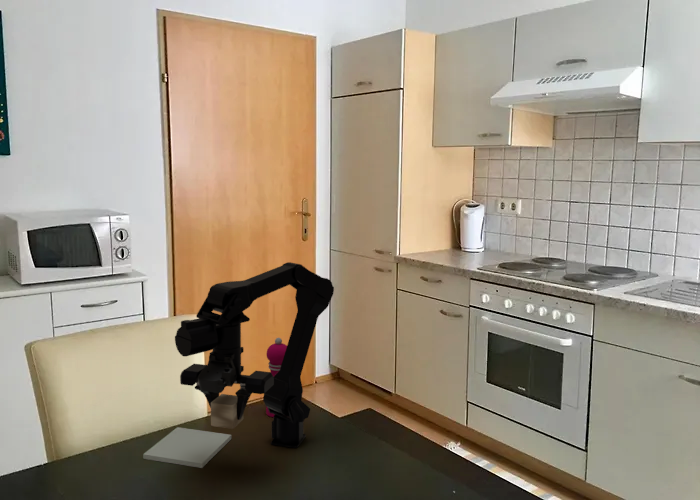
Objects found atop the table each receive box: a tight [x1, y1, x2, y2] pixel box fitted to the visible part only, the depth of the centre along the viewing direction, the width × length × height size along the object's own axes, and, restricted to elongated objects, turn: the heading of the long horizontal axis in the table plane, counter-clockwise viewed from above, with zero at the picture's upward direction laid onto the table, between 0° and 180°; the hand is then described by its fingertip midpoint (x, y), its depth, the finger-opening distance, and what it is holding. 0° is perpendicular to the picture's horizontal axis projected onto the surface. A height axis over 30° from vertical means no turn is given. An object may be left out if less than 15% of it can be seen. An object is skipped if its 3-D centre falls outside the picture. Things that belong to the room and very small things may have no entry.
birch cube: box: [210, 393, 245, 430], centre depth 125 cm, size 5×5×5 cm
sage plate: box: [142, 426, 232, 469], centre depth 134 cm, size 14×14×1 cm
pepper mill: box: [265, 337, 288, 418], centre depth 153 cm, size 7×7×20 cm
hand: (227, 417), depth 125 cm, fingers closed on birch cube, 5 cm apart
